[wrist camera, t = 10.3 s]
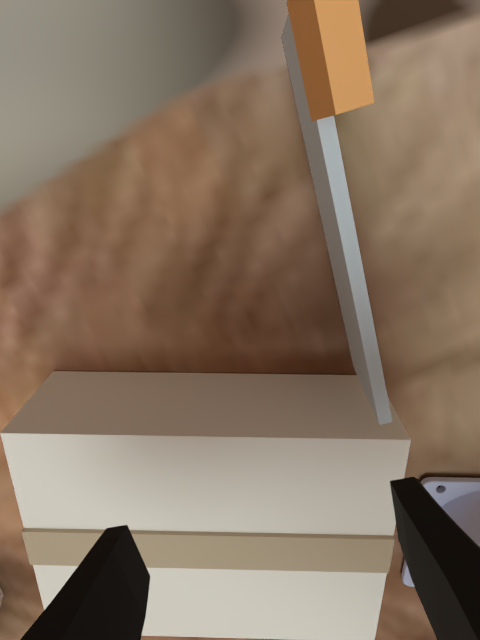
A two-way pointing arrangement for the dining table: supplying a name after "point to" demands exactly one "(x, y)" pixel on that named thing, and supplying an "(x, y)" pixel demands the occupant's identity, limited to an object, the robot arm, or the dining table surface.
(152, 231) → the dining table surface
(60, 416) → the carton
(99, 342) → the dining table surface
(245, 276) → the dining table surface
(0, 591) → the foam cup
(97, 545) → the robot arm
